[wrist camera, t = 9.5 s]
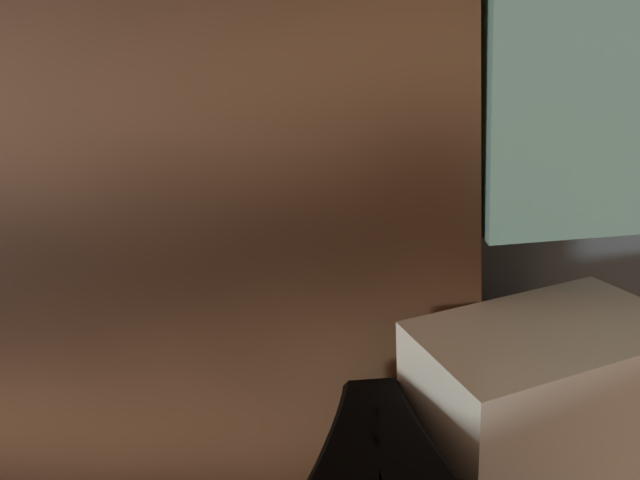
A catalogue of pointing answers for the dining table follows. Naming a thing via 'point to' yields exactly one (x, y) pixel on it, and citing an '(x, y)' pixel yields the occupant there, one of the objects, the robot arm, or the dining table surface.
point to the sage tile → (559, 120)
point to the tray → (559, 264)
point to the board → (223, 223)
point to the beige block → (530, 383)
